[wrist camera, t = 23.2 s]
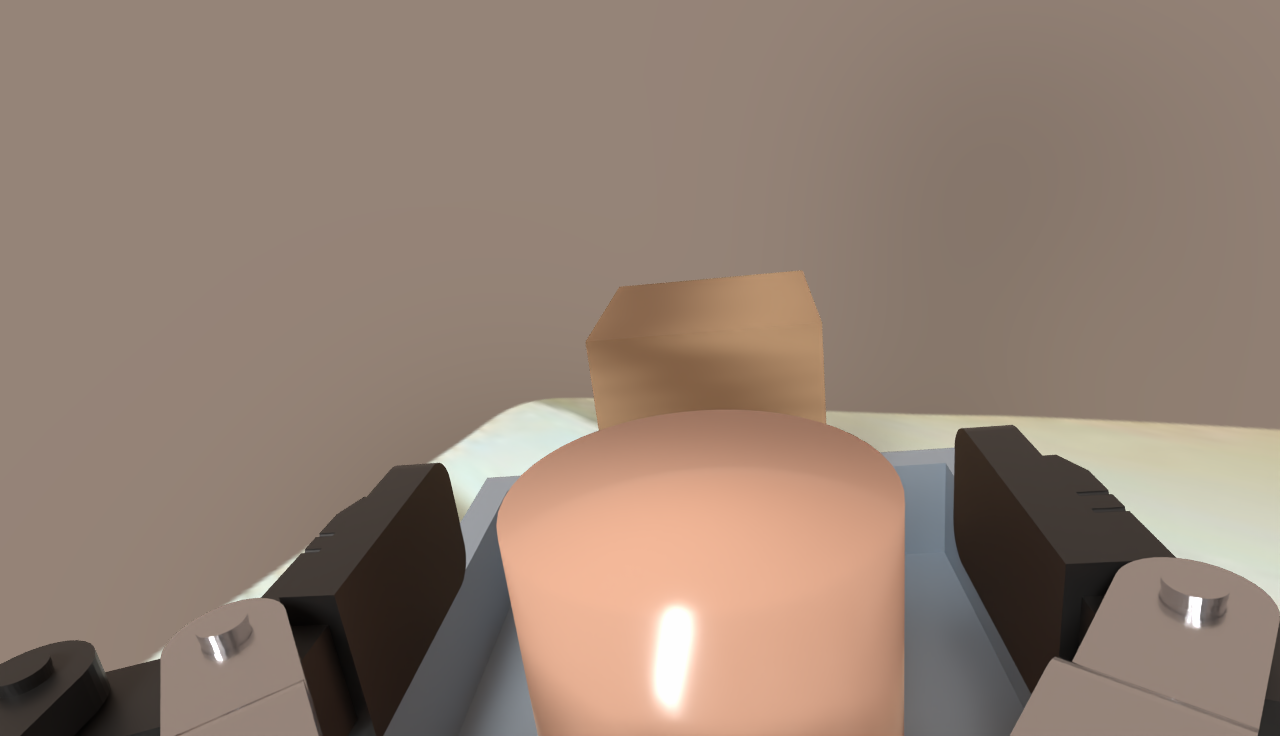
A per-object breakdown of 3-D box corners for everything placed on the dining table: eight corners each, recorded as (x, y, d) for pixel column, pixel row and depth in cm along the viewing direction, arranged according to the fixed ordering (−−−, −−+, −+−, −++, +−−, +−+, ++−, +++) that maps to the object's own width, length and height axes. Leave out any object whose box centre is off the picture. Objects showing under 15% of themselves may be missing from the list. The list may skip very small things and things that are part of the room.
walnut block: (818, 585, 23) (802, 270, 20) (838, 707, 19) (821, 322, 15) (658, 589, 24) (619, 286, 21) (640, 707, 20) (585, 342, 16)
